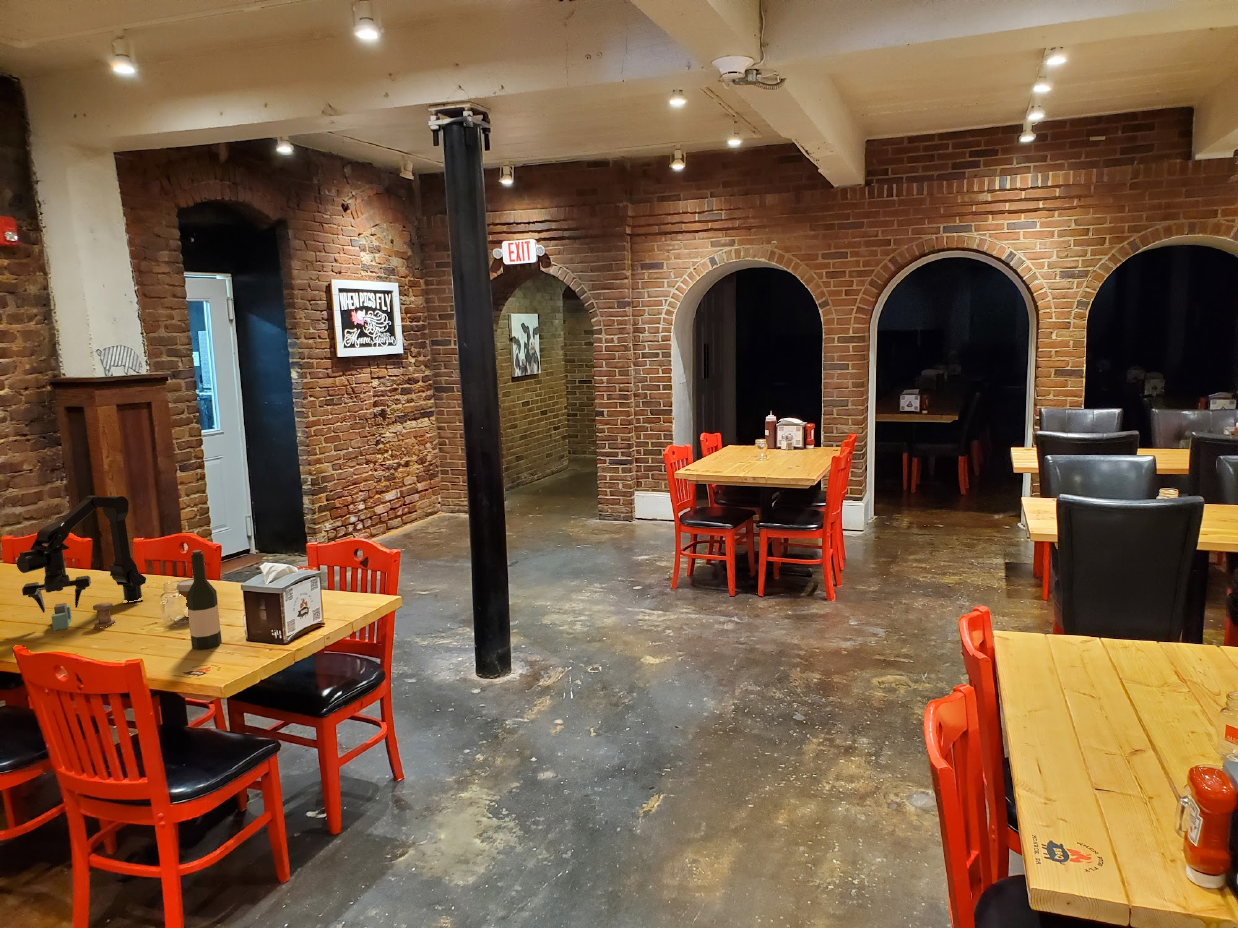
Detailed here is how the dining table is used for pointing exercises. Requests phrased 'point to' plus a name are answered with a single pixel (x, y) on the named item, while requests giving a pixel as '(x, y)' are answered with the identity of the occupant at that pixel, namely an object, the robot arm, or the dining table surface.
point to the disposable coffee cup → (184, 587)
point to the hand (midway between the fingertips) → (60, 609)
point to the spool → (103, 614)
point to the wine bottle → (202, 608)
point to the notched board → (61, 619)
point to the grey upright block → (61, 608)
